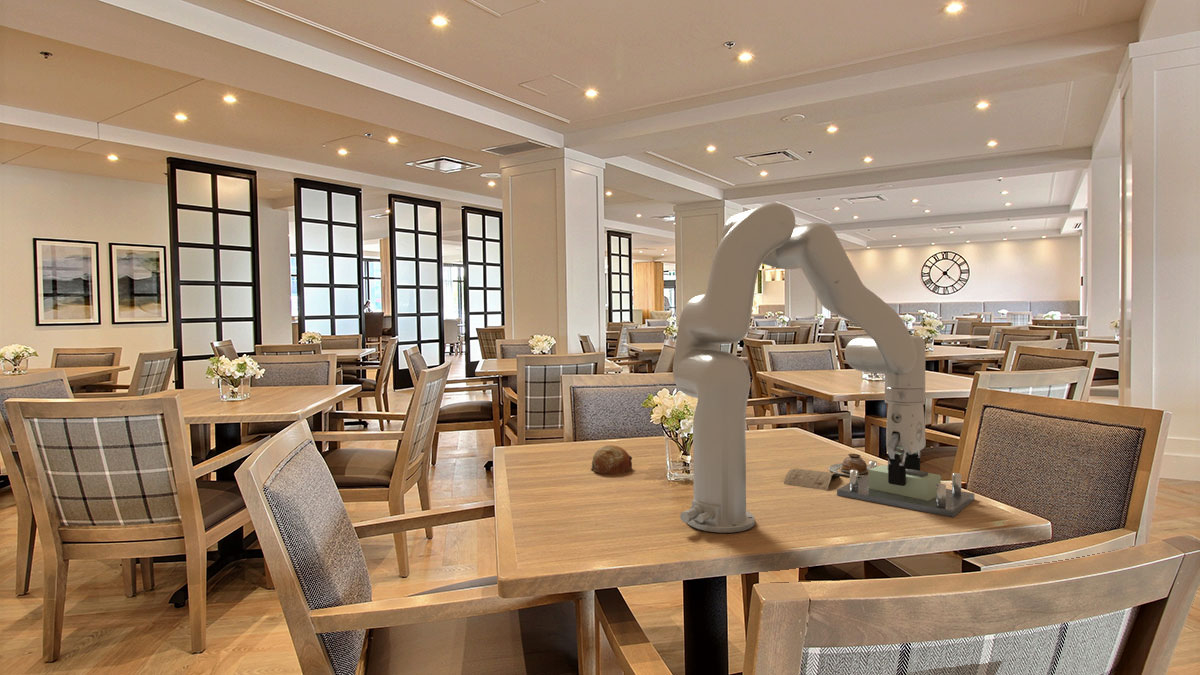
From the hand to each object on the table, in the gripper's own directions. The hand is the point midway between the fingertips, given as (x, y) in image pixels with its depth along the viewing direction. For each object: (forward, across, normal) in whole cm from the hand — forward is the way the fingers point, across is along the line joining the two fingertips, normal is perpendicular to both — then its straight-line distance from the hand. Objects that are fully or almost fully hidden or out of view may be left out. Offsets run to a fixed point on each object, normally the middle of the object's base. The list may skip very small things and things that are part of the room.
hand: (904, 479), depth 130 cm
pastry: (+4, +14, +16) cm, 21 cm away
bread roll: (+4, -22, +62) cm, 66 cm away
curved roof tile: (+4, 0, +20) cm, 20 cm away
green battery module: (+2, 0, 0) cm, 2 cm away
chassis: (+4, 0, 0) cm, 4 cm away
